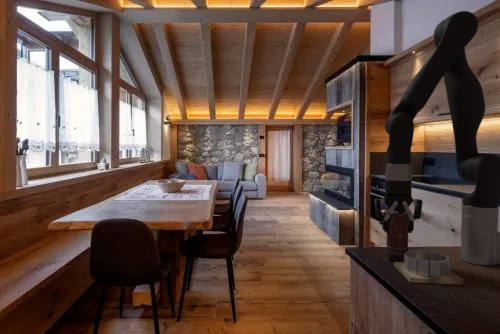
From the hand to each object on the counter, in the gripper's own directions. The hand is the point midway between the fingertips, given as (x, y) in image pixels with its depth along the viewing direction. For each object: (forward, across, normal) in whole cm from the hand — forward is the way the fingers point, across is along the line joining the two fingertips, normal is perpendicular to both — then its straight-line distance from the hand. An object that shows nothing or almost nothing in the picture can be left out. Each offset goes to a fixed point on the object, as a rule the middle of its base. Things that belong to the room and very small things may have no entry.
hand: (397, 232), depth 106 cm
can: (+8, 0, 0) cm, 8 cm away
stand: (+9, -4, +12) cm, 16 cm away
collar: (+8, -4, +12) cm, 15 cm away
